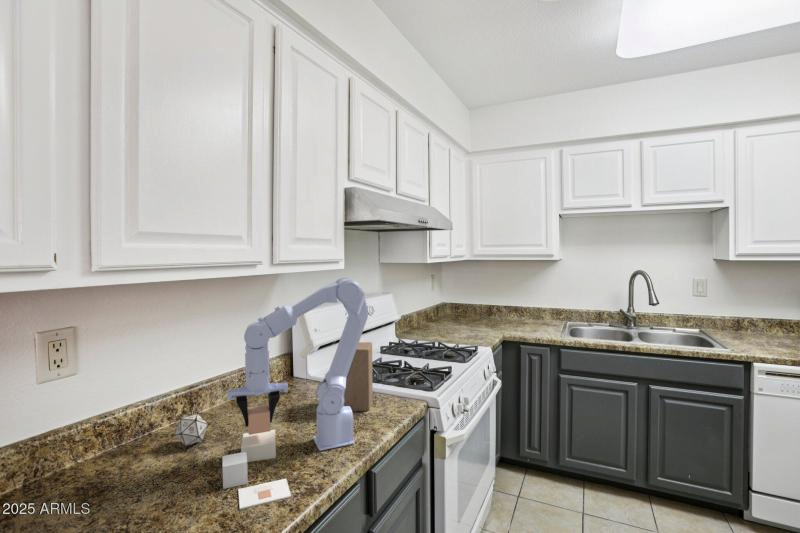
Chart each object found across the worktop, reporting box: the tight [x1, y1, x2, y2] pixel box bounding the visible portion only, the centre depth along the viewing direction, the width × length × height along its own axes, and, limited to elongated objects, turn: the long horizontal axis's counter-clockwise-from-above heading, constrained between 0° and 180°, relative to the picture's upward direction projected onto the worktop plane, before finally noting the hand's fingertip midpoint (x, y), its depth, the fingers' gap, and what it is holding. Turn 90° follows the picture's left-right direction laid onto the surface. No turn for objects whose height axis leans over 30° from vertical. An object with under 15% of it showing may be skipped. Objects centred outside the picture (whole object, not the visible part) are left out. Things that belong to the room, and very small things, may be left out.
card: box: [238, 478, 292, 510], centre depth 86 cm, size 10×7×1 cm
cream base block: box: [240, 429, 277, 463], centre depth 104 cm, size 8×8×4 cm
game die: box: [171, 410, 212, 451], centre depth 108 cm, size 9×8×10 cm
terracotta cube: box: [247, 404, 271, 435], centre depth 103 cm, size 5×5×5 cm
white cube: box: [222, 451, 249, 490], centre depth 91 cm, size 5×5×5 cm
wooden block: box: [343, 341, 374, 412], centre depth 134 cm, size 10×10×20 cm
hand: (258, 423), depth 103 cm, fingers closed on terracotta cube, 5 cm apart
